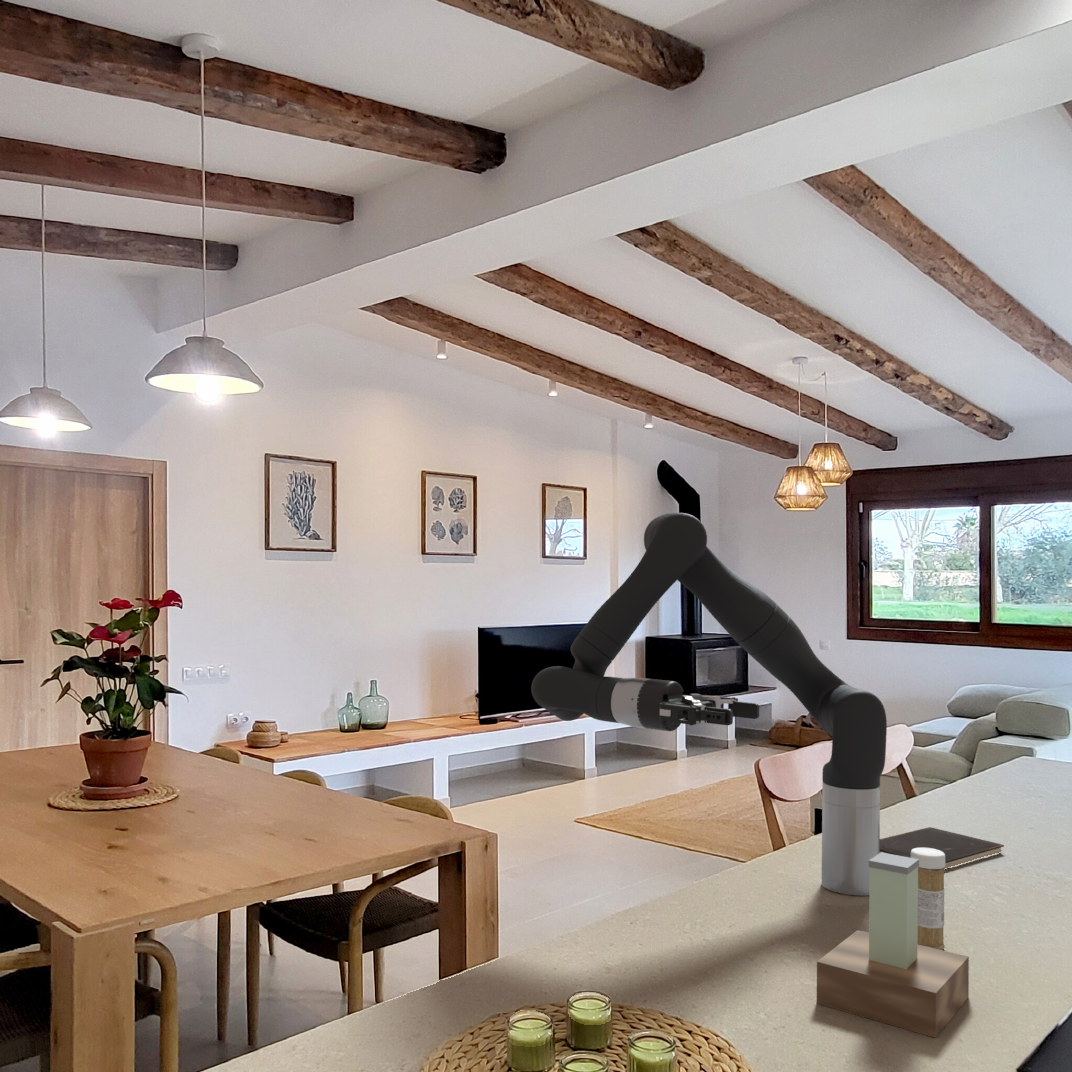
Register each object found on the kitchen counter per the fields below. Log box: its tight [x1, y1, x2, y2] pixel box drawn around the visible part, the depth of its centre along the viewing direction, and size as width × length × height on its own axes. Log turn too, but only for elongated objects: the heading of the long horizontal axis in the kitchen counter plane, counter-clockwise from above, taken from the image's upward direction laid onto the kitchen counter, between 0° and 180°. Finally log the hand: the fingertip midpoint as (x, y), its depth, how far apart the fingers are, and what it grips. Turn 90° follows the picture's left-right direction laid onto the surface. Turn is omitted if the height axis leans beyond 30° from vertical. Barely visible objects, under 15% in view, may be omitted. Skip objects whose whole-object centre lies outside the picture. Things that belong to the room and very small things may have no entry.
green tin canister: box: [868, 852, 919, 969], centre depth 123 cm, size 5×5×12 cm
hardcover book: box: [880, 826, 1005, 868], centre depth 188 cm, size 16×23×2 cm
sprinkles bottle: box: [911, 848, 945, 951], centre depth 141 cm, size 5×5×14 cm
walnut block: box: [816, 929, 970, 1039], centre depth 123 cm, size 14×14×5 cm
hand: (745, 714), depth 142 cm, fingers open, 8 cm apart
